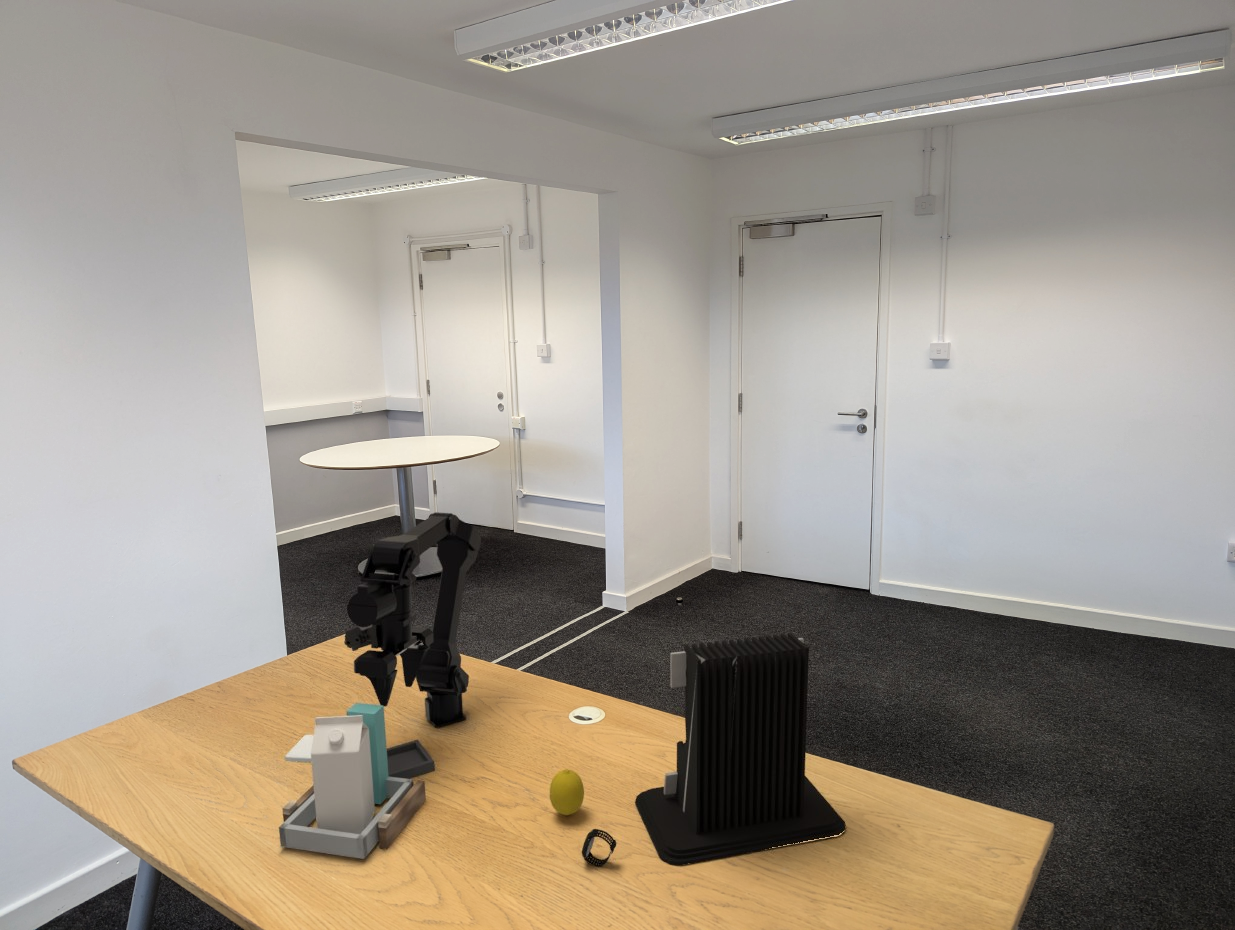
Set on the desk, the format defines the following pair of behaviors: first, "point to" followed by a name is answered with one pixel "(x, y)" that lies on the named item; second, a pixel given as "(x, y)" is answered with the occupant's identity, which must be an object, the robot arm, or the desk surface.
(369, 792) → the milk carton
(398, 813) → the channel
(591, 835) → the smartwatch
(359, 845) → the tray
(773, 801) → the black ribbed block
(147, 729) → the desk surface
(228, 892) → the desk surface
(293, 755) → the external hard drive
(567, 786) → the lemon
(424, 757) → the tray
